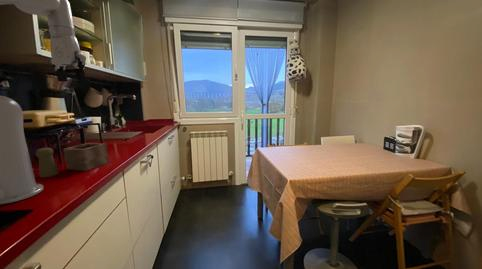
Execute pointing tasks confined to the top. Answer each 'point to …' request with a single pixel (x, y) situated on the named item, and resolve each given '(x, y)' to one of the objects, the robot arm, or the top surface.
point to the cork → (46, 162)
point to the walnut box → (86, 156)
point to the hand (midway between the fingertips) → (71, 80)
